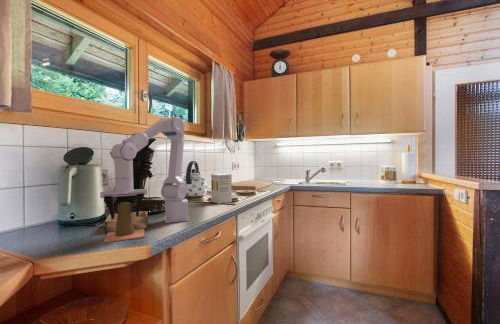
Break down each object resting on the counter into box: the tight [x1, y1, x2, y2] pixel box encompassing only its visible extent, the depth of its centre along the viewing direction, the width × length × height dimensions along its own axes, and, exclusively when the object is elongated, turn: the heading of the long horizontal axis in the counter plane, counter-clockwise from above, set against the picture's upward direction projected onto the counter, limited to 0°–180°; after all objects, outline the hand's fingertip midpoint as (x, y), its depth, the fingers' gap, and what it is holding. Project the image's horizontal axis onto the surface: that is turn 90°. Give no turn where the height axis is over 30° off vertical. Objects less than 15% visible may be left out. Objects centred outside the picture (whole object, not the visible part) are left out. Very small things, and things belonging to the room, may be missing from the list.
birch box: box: [104, 210, 149, 234], centre depth 101 cm, size 15×13×4 cm
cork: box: [115, 201, 135, 236], centre depth 89 cm, size 6×6×11 cm
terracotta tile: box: [103, 228, 145, 244], centre depth 88 cm, size 12×10×1 cm
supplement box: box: [210, 173, 233, 205], centre depth 152 cm, size 10×9×17 cm
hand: (125, 216), depth 88 cm, fingers open, 7 cm apart
